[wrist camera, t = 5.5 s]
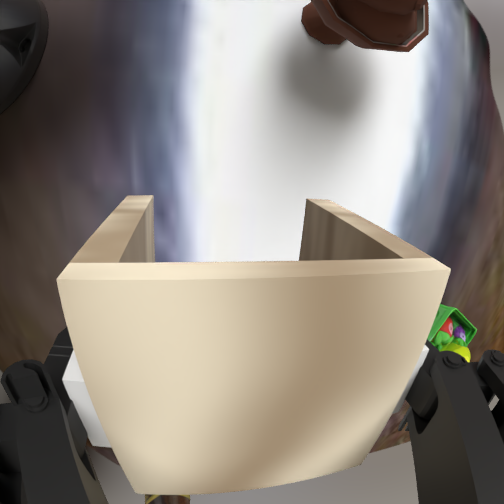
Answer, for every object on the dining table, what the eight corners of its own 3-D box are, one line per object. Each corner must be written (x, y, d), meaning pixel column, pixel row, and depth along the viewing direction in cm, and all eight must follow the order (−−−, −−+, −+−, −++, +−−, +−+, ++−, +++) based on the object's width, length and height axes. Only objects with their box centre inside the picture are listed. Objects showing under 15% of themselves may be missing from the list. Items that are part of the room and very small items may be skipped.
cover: (144, 363, 14) (136, 493, 7) (127, 195, 11) (56, 279, 4) (302, 354, 15) (360, 464, 9) (328, 199, 13) (450, 269, 6)
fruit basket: (459, 315, 43) (502, 350, 33) (428, 356, 45) (466, 396, 34) (432, 289, 39) (484, 330, 28) (396, 338, 41) (440, 386, 30)
